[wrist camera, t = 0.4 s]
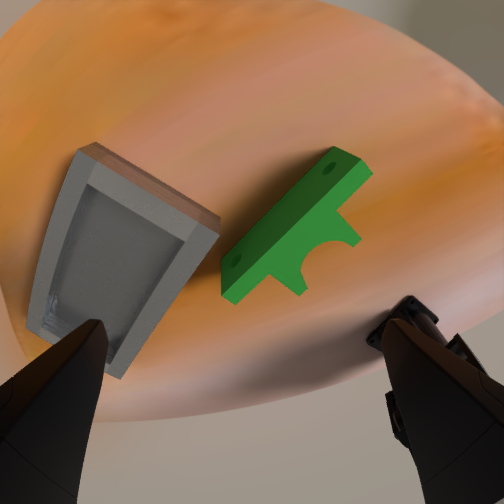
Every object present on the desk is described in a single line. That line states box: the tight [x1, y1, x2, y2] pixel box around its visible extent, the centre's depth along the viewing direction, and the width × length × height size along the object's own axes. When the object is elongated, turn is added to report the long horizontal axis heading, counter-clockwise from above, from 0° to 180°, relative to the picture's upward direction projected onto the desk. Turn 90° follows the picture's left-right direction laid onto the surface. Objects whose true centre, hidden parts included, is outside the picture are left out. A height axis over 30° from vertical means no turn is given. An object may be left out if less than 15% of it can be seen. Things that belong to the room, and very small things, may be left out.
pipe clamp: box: [221, 146, 373, 305], centre depth 19 cm, size 11×4×5 cm, turn 137°
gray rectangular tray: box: [26, 142, 221, 380], centre depth 20 cm, size 10×17×3 cm, turn 144°
